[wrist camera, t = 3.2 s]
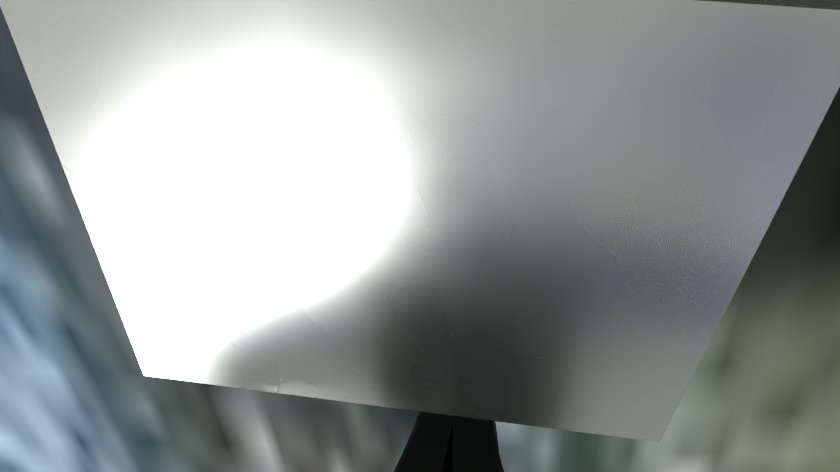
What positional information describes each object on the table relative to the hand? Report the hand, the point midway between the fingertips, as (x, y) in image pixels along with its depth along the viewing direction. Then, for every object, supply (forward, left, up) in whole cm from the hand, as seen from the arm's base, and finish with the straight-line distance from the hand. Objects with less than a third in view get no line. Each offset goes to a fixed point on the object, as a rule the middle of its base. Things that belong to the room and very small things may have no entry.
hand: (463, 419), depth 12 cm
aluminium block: (0, -6, -2) cm, 7 cm away
